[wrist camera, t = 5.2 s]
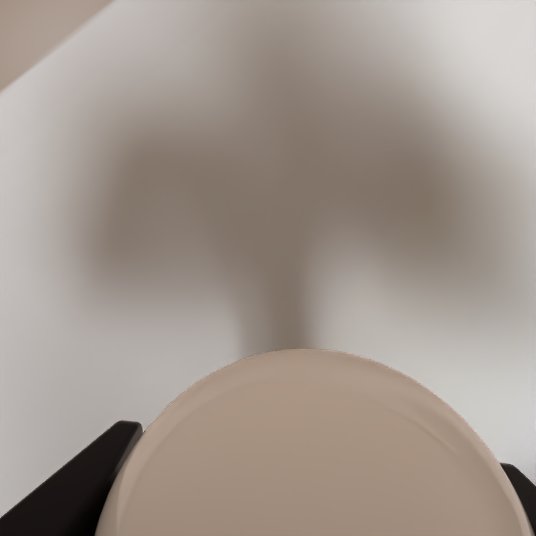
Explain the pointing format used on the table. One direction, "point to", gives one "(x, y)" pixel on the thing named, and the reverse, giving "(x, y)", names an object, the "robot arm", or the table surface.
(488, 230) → the table surface
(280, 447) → the lightbulb
